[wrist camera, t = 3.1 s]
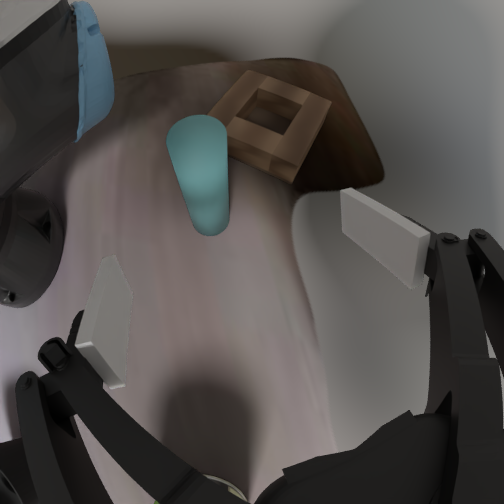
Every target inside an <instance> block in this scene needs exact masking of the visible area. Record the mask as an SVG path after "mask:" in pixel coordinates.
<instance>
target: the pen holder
mask: <svg viewBox="0 0 504 504" xmlns="http://www.w3.org/2000/svg"><path fill="white" fill-rule="evenodd" d="M0 504H40V502H39V499H38V496H37V493H36V490H35V487H34V484H33V481H32V477H31V474H30V470H29V466H28V462H27V458H26V454H25V450H24V445H23V440H22V438H19V439H15V440H11V441H7V442H3V443H0Z"/></svg>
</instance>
